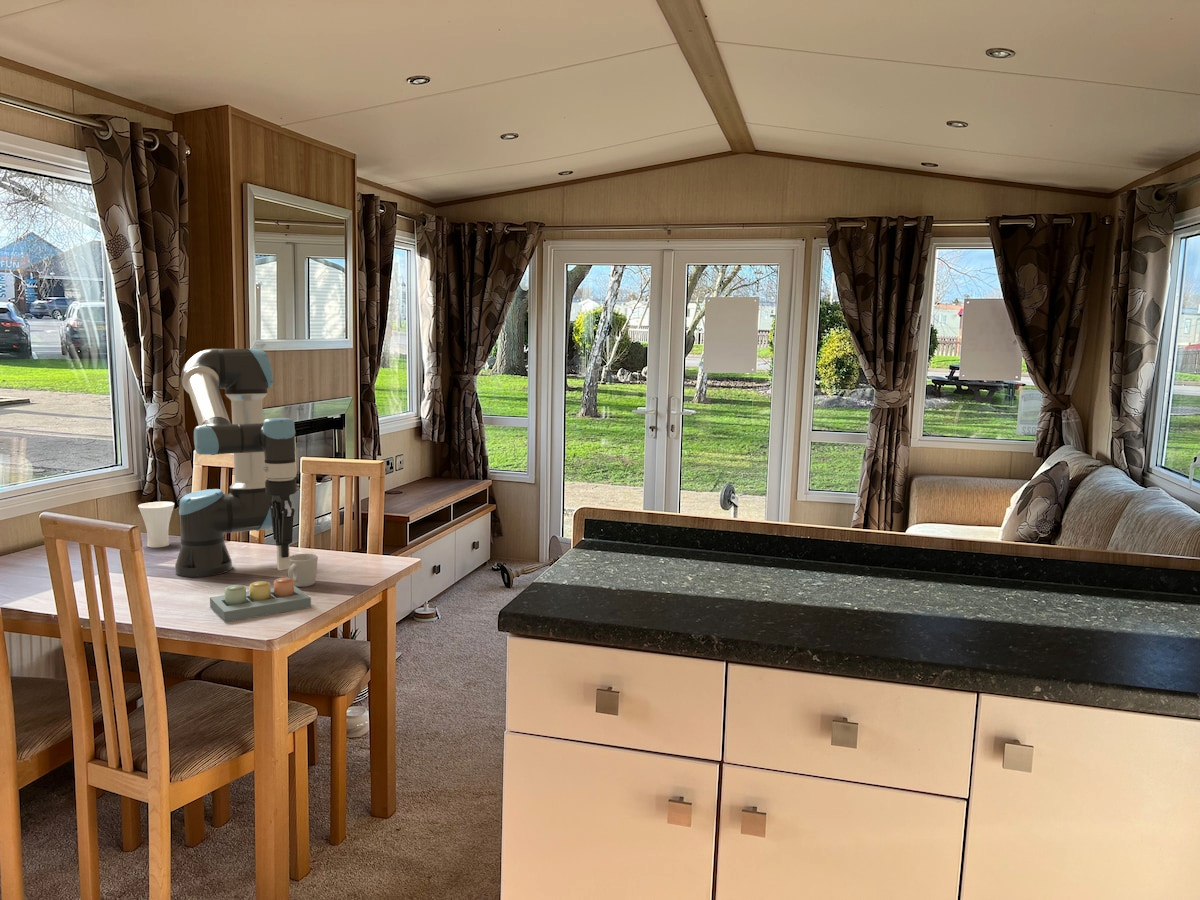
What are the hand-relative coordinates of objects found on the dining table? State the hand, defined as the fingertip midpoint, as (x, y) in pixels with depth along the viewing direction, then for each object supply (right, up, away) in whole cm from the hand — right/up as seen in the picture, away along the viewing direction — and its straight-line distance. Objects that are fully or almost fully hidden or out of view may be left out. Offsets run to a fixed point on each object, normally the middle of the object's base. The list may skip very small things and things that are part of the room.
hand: (283, 568), depth 225 cm
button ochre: (-5, -7, -2) cm, 9 cm away
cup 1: (-62, -1, +58) cm, 85 cm away
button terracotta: (0, -7, +1) cm, 7 cm away
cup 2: (-1, -7, +17) cm, 19 cm away
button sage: (-10, -8, -6) cm, 14 cm away
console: (-5, -10, -2) cm, 11 cm away
